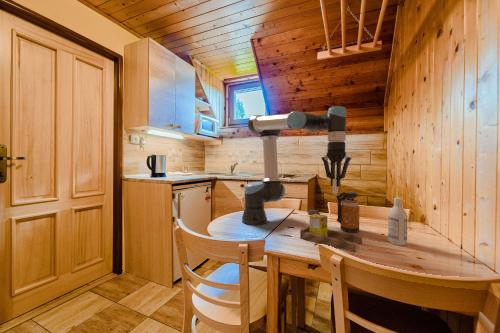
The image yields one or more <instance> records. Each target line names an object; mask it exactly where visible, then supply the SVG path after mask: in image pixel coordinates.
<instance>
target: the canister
mask: <svg viewBox="0 0 500 333" xmlns="http://www.w3.org/2000/svg"><path fill="white" fill-rule="evenodd" d="M335 197H336V199H337V218H336V222H337V223H339V224H340V226H339V227H340V229H341V230H342V231H344V232H345V233H357V232H359V231H360V209H361V208H360V206H359V201H358V199H356V198H357V197H359V194H357V193H356V192H345V191H343V192H342V193H340V194H338V195H336V196H335Z"/></svg>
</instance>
